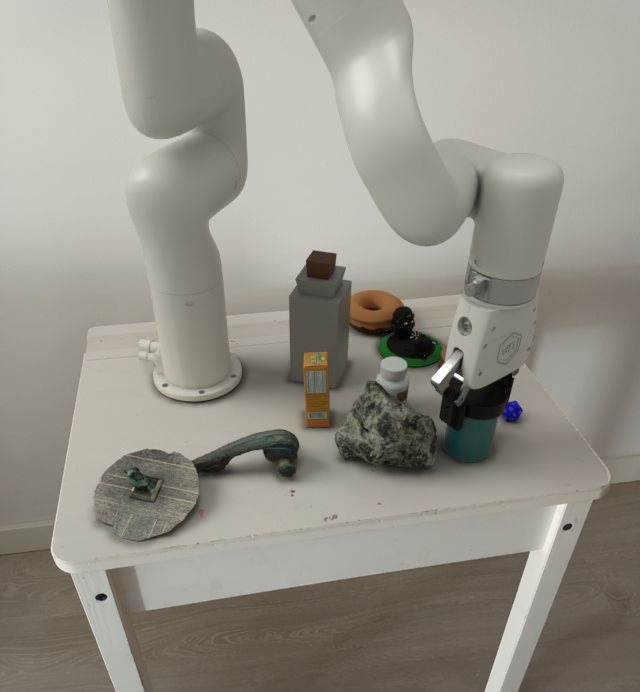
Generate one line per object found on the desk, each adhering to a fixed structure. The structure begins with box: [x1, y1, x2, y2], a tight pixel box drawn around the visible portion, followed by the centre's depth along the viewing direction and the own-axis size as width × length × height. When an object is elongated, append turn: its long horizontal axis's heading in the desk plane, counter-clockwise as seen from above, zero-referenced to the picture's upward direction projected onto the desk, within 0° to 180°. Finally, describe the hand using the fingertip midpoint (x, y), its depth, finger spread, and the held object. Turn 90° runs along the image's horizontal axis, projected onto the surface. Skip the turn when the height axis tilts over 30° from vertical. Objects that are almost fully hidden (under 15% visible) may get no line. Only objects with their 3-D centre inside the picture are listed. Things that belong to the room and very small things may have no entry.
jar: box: [442, 416, 500, 463], centre depth 81 cm, size 6×6×9 cm
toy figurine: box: [377, 305, 444, 367], centre depth 100 cm, size 10×10×6 cm
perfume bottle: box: [288, 249, 353, 389], centre depth 91 cm, size 7×7×18 cm
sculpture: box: [93, 448, 200, 542], centre depth 75 cm, size 12×9×8 cm
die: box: [500, 400, 524, 423], centre depth 88 cm, size 3×3×3 cm
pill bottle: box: [375, 357, 410, 405], centre depth 87 cm, size 4×4×8 cm
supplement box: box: [303, 352, 331, 428], centre depth 85 cm, size 3×4×10 cm
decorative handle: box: [190, 428, 300, 479], centre depth 79 cm, size 15×7×5 cm, turn 105°
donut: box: [349, 289, 405, 334], centre depth 106 cm, size 10×10×4 cm
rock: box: [334, 379, 439, 469], centre depth 80 cm, size 12×8×10 cm
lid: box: [452, 379, 508, 420], centre depth 79 cm, size 7×7×2 cm
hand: (473, 410), depth 80 cm, fingers open, 7 cm apart
